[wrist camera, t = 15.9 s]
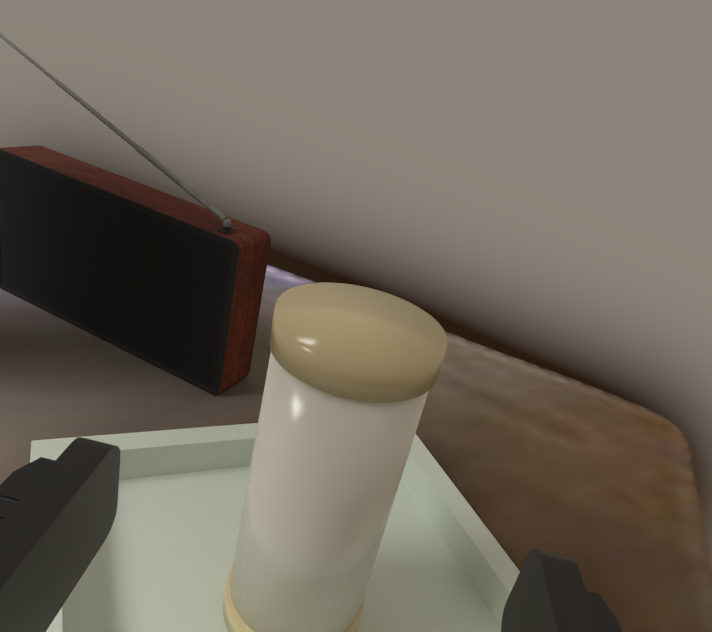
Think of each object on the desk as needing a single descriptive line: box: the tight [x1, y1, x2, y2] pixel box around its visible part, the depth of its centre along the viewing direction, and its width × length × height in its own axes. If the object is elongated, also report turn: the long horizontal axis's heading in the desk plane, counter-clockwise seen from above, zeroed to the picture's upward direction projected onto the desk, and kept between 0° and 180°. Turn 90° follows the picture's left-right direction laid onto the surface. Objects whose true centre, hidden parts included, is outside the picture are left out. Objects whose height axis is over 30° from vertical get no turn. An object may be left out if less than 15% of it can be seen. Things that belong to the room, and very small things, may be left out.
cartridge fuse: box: [223, 283, 448, 632], centre depth 18 cm, size 5×5×11 cm
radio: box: [0, 33, 270, 396], centre depth 32 cm, size 19×3×15 cm, turn 64°
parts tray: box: [30, 423, 520, 632], centre depth 20 cm, size 16×16×2 cm
